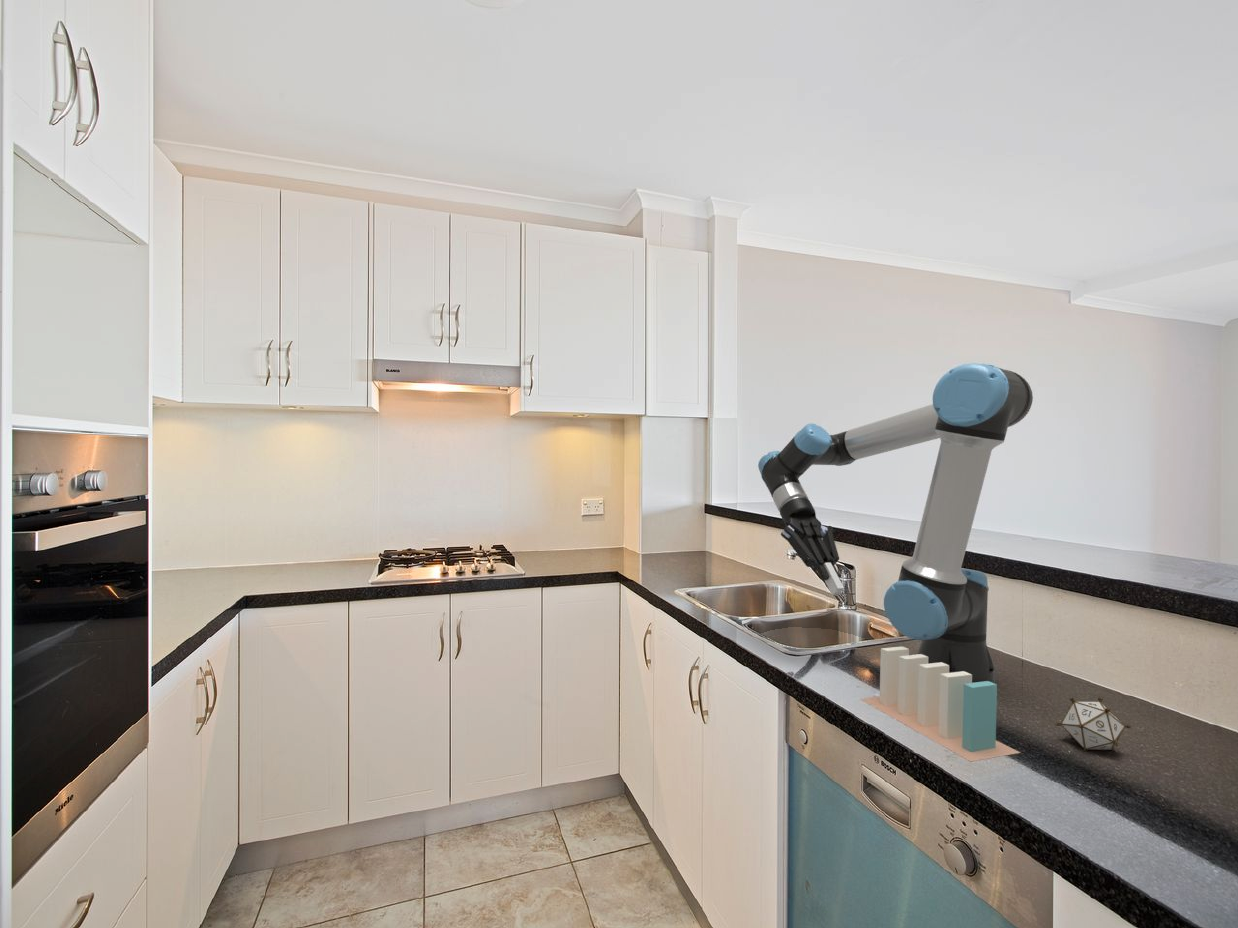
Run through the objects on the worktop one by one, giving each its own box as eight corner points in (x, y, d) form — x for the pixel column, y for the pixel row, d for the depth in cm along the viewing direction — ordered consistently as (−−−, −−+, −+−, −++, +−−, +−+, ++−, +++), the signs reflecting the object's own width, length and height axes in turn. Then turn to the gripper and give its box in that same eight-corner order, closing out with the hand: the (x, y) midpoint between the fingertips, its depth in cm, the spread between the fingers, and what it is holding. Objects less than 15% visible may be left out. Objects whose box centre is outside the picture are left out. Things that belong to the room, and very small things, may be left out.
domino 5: (962, 747, 94) (963, 683, 94) (986, 743, 95) (987, 680, 95) (970, 752, 92) (972, 687, 92) (995, 747, 94) (997, 684, 94)
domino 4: (938, 734, 98) (940, 673, 98) (962, 730, 99) (963, 671, 99) (946, 738, 96) (948, 677, 96) (970, 735, 98) (972, 674, 98)
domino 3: (917, 722, 102) (918, 664, 102) (940, 719, 104) (941, 662, 104) (924, 726, 101) (926, 667, 101) (947, 723, 102) (949, 665, 102)
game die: (1089, 767, 97) (1106, 711, 100) (1134, 775, 89) (1151, 713, 92) (1037, 735, 98) (1055, 680, 101) (1076, 740, 90) (1095, 680, 93)
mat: (860, 701, 112) (860, 698, 112) (902, 696, 115) (902, 693, 115) (970, 765, 89) (970, 761, 89) (1020, 756, 92) (1020, 752, 92)
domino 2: (897, 711, 106) (899, 656, 106) (920, 708, 108) (921, 653, 108) (904, 715, 105) (905, 659, 105) (927, 712, 106) (928, 656, 106)
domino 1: (879, 702, 111) (880, 648, 111) (901, 699, 112) (902, 646, 112) (885, 705, 109) (887, 651, 109) (907, 702, 111) (909, 648, 111)
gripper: (810, 515, 146) (855, 599, 130) (763, 516, 142) (803, 602, 126) (824, 495, 141) (872, 580, 125) (776, 495, 137) (819, 583, 121)
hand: (838, 591), depth 126 cm, fingers closed
